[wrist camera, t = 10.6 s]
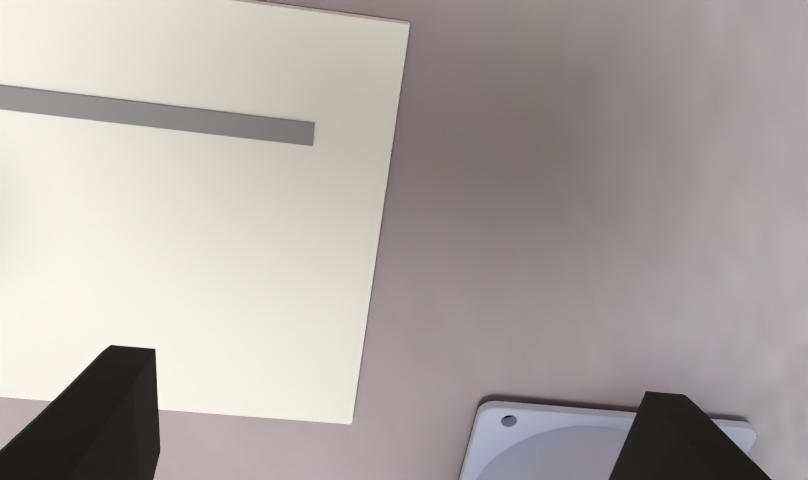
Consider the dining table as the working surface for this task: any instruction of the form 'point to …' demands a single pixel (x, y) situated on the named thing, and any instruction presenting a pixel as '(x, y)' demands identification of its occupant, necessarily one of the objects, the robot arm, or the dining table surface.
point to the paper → (194, 196)
